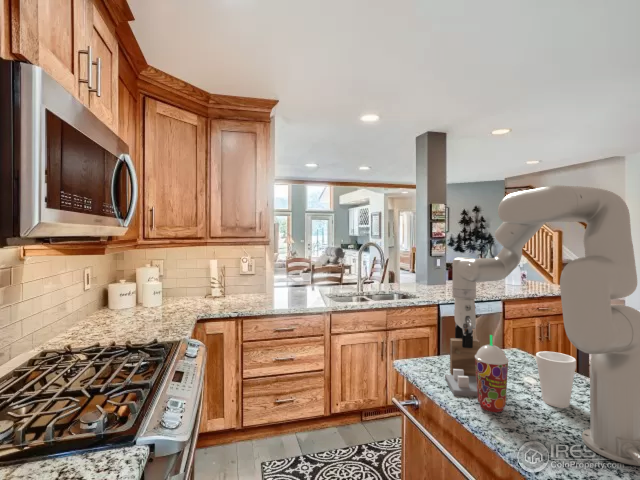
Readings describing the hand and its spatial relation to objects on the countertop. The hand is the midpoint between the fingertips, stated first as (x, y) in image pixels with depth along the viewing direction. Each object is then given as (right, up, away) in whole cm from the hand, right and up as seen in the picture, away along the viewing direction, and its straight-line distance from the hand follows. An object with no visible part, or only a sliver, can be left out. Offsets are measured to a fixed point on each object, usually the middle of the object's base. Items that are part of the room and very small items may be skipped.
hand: (463, 343), depth 121 cm
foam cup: (+18, -11, -21) cm, 30 cm away
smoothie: (-2, -11, -24) cm, 26 cm away
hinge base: (-2, -11, -11) cm, 16 cm away
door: (0, -11, 0) cm, 11 cm away
